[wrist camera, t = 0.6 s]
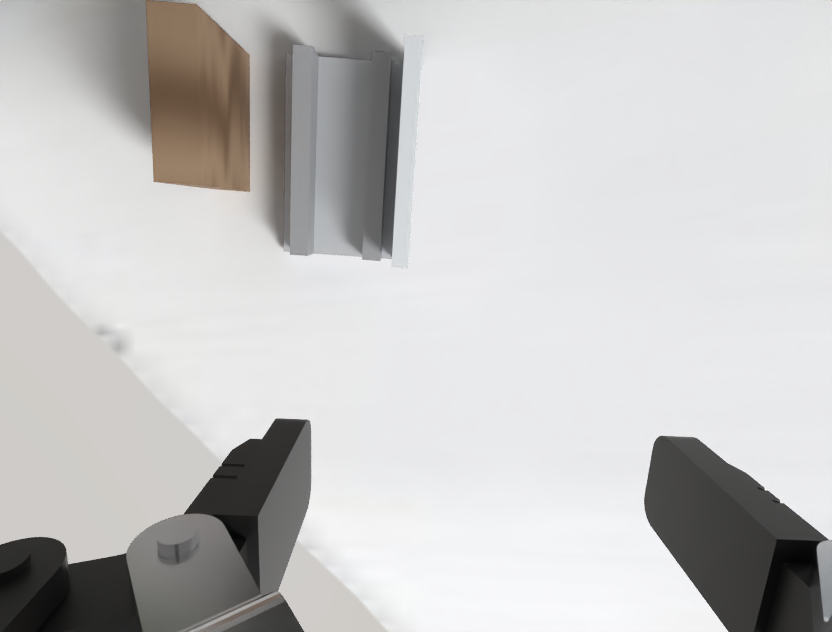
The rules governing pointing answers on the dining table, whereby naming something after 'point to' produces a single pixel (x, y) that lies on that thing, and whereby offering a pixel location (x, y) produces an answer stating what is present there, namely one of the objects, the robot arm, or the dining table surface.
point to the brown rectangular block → (197, 99)
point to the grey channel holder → (351, 153)
